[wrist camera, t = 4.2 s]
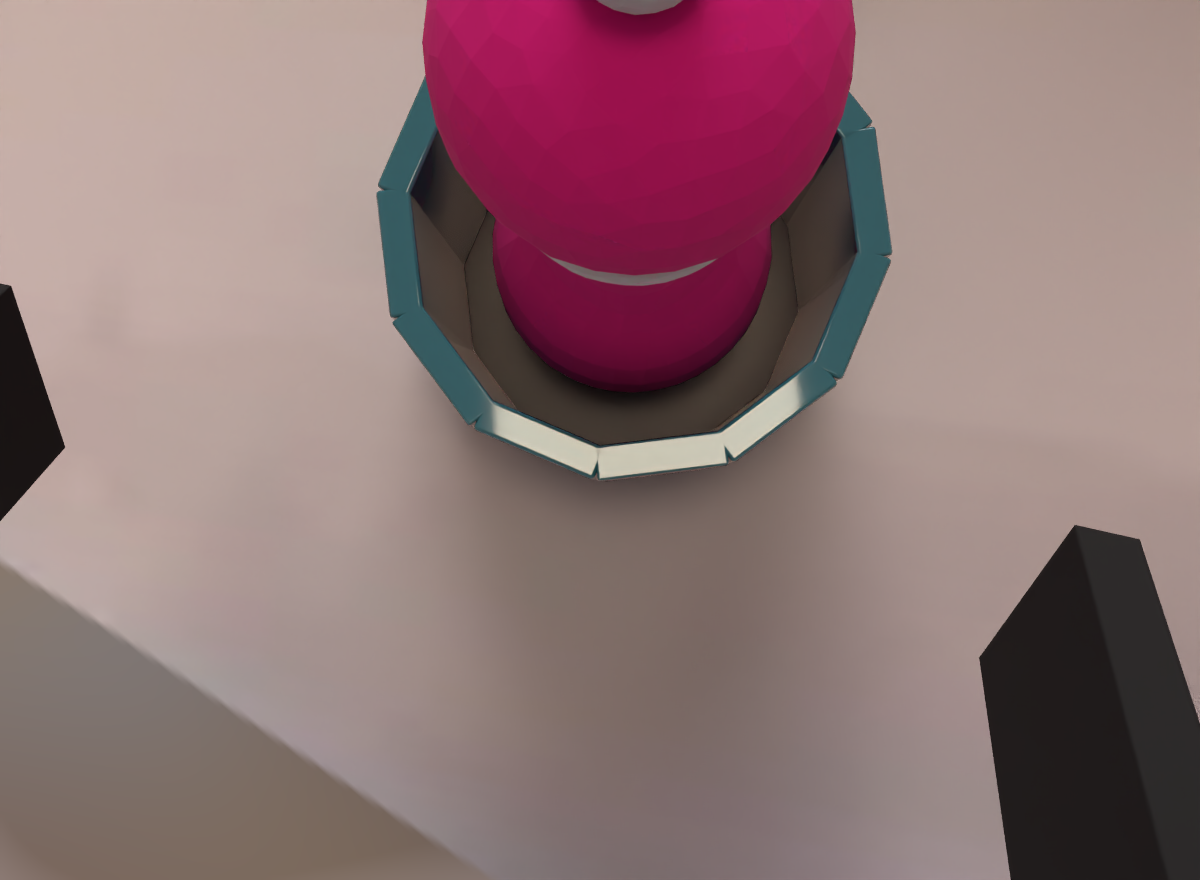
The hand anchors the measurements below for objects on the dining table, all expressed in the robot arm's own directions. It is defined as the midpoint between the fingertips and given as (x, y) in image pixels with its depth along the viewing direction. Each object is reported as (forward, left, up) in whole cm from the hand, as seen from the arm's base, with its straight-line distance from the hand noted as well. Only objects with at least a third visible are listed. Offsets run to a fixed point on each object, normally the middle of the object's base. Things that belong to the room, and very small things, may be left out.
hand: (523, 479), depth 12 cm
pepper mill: (+4, -5, -17) cm, 18 cm away
